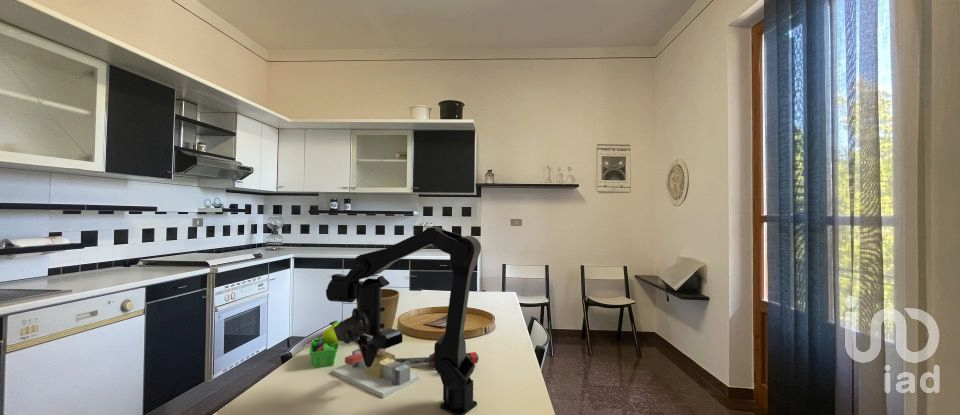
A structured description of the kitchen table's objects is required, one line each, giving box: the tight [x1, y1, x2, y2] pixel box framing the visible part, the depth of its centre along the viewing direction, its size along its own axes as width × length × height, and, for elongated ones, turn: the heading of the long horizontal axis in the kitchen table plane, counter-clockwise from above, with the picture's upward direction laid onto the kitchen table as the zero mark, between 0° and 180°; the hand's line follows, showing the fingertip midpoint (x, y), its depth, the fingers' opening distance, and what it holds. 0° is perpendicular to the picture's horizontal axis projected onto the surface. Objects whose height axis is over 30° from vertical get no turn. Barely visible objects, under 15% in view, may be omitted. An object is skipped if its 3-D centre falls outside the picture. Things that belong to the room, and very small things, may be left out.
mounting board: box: [331, 363, 420, 399], centre depth 99 cm, size 22×12×1 cm, turn 54°
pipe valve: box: [351, 348, 411, 385], centre depth 99 cm, size 20×5×5 cm, turn 54°
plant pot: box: [355, 288, 400, 330], centre depth 128 cm, size 15×15×16 cm
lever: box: [344, 349, 386, 365], centre depth 96 cm, size 11×2×2 cm, turn 144°
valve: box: [395, 351, 480, 369], centre depth 108 cm, size 6×26×15 cm
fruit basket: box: [308, 321, 341, 369], centre depth 109 cm, size 11×9×11 cm
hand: (368, 366), depth 90 cm, fingers closed
